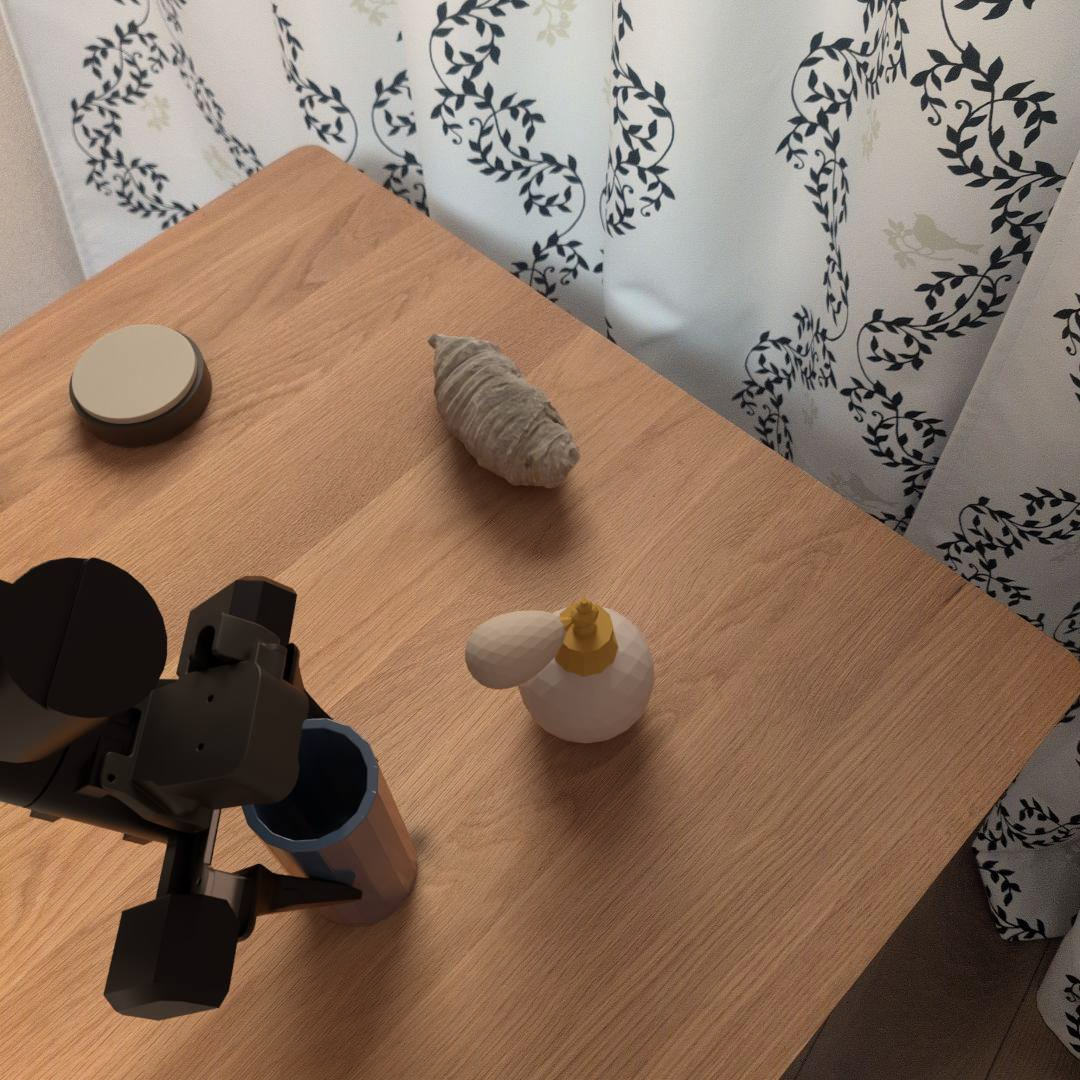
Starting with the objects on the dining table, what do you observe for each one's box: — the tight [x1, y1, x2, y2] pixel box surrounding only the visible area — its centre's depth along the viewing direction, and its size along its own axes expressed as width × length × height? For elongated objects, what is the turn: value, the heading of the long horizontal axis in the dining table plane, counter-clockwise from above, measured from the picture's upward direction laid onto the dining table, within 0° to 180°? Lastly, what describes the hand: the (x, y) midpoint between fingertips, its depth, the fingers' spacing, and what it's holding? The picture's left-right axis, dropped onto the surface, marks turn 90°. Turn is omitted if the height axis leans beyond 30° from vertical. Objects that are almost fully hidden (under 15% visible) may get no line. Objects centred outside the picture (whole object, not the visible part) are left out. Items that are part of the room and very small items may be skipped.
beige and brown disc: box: [68, 323, 213, 448], centre depth 78 cm, size 9×9×3 cm
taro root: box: [427, 333, 581, 489], centre depth 73 cm, size 6×14×8 cm, turn 36°
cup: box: [240, 718, 418, 927], centre depth 55 cm, size 6×6×13 cm
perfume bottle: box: [464, 596, 655, 744], centre depth 60 cm, size 8×10×12 cm
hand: (365, 830), depth 55 cm, fingers closed on cup, 6 cm apart
